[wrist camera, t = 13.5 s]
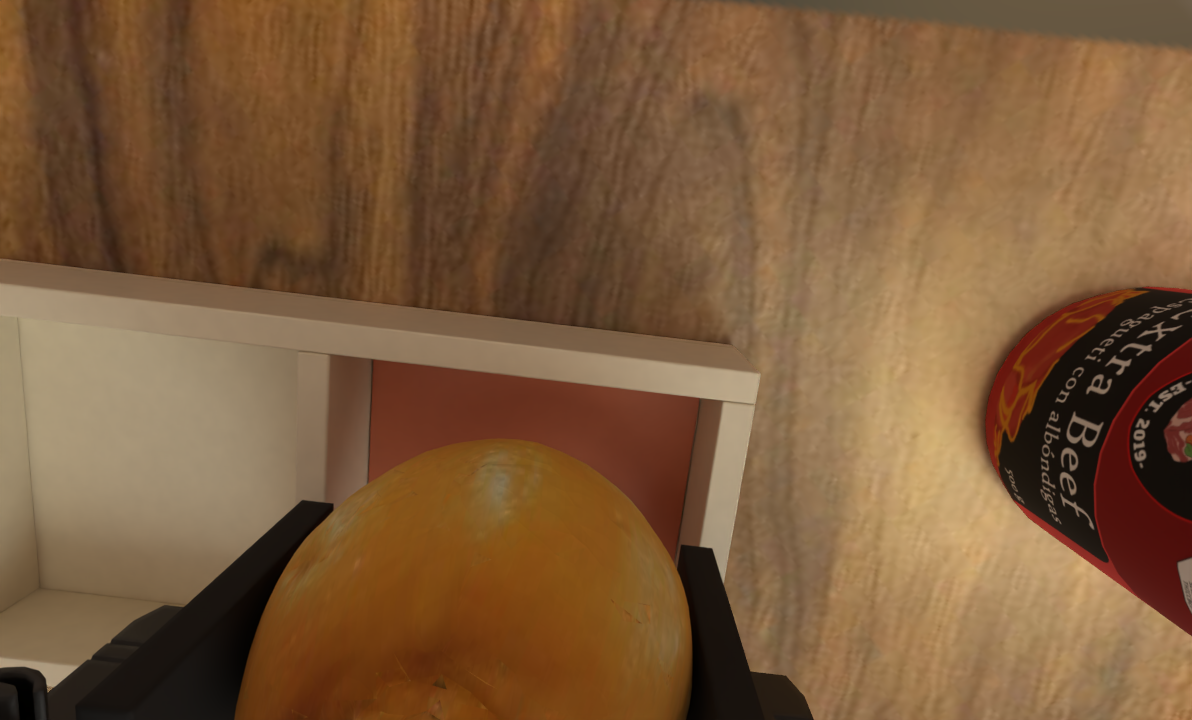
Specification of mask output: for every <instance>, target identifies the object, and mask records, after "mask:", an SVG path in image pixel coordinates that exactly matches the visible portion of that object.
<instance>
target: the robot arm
mask: <svg viewBox="0 0 1192 720" xmlns="http://www.w3.org/2000/svg"><path fill="white" fill-rule="evenodd" d="M333 511H334V504H333V503H325V502H316V501H308V500H302V501H300V502H299V503H298V504H297V505H296V506H295V507H294V508H293V509H292V510H290V511H289V512H288V513H287V514H286V515H285V516H284V517H283V518H282V519H281V520H279V521H278V522H277V523H276V524H275V525H274V526H273V527H272V528H271V529H269V530H268V531H267V532H266V533H265V534H264V535H263V536H262V537H261V538H260V539H258V540H257V541H256V542H255V543H254V544H253V545H252V546H251V547H250V548H248V549H247V550H246V551H245V552H244V553H243V554H242V555H241V556H240V557H239V558H237V559H236V560H235V561H234V562H233V563H232V564H231V565H230V566H229V567H228V568H226V569H225V570H224V571H223V572H222V573H221V574H220V575H219V576H218V577H216V578H215V579H214V580H213V581H212V582H211V583H210V584H209V585H208V586H207V587H205V588H204V589H203V590H202V591H201V592H200V593H199V594H198V595H197V596H195V597H194V598H193V599H192V600H191V601H190V602H189V603H188V604H187V605H186V606H184V607H179V606H170V605H163V606H161V607H159V608H157V609H155V610H153V611H151V612H149V613H147V614H145V615H143V616H141V617H139V618H138V619H136V620H134V621H133V622H131V623H130V624H129V625H128V626H127V627H126V628H124V629H123V630H122V631H121V632H120V633H118V634H117V635H116V636H115V637H114V638H112V639H111V642H110V643H106V644H105V645H104V646H103V647H102V648H100V649H99V650H98V651H97V652H96V653H95V654H93V655H92V658H91V660H89V659H87V660H86V661H85V662H84V663H83V664H81V665H80V666H79V667H78V668H77V669H75V670H74V671H73V672H72V673H71V674H69V675H68V676H67V677H66V678H65V679H63V680H62V681H61V682H60V683H59V684H58V685H56V686H55V687H54V688H53V689H52V690H50V691H49V692H48V693H47V684H46V678H45V677H44V676H43V674H42V673H41V672H40V671H39V670H36V669H32V668H28V667H3V668H0V720H234V718H235V711H236V705H237V701H238V696H239V692H240V688H241V683H242V679H243V675H244V670H245V666H246V663H247V659H248V655H249V651H250V648H251V645H252V642H253V639H254V636H255V633H256V630H257V627H258V624H259V622H260V619H261V616H262V614H263V611H264V609H265V607H266V604H267V602H268V600H269V598H270V596H271V594H272V592H273V590H274V588H275V586H276V584H277V582H278V580H279V578H280V576H281V575H282V573H283V571H284V569H285V568H286V566H287V564H288V563H289V561H290V560H291V558H292V557H293V555H294V553H295V552H296V551H297V549H298V548H299V547H300V545H301V544H302V543H303V541H304V540H305V539H306V538H307V537H308V536H309V534H310V533H311V532H312V531H313V530H314V529H315V528H316V527H318V526H319V525H320V524H321V523H322V522H323V521H324V520H325V519H326V518H327V517H328V516H329V515H330V514H331V513H332V512H333ZM677 571H678V574H679V576H680V579H681V581H682V584H683V587H684V591H685V595H686V599H687V603H688V607H689V615H690V624H691V632H692V652H693V676H692V692H691V699H690V706H689V710H688V714H687V718H686V720H814V719H813V717H812V714H811V712H810V709H809V707H808V704H807V702H806V699H805V697H804V696H803V694H802V693H801V692H800V691H799V690H798V689H797V688H796V687H795V685H794V684H793V683H792V682H791V681H790V680H789V679H788V678H787V676H783V675H775V674H766V673H758V672H750V669H749V666H748V663H747V660H746V656H745V653H744V650H743V647H742V643H741V640H740V637H739V633H738V630H737V627H736V624H735V620H734V617H733V614H732V611H731V607H730V604H729V601H728V598H727V594H726V591H725V588H724V585H723V581H722V578H721V575H720V572H719V568H718V565H717V562H716V558H715V555H714V552H713V549H712V548H707V547H699V546H690V545H682V544H681V547H680V553H679V559H678V566H677Z"/></svg>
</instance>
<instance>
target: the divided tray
mask: <svg viewBox="0 0 1192 720" xmlns="http://www.w3.org/2000/svg"><path fill="white" fill-rule="evenodd" d="M760 376H761V374H760V372H759V371H758V370H757V369H756V368H755V367H754V366H753V365H752V364H751V363H750V362H749V361H748V360H747V359H746V358H745V357H744V356H743V355H742V354H741V353H740V352H739V351H738V350H737V349H736V348H735V347H734V346H733V345H728V344H720V343H711V342H703V341H694V340H686V339H678V338H669V337H661V336H652V335H644V334H635V333H627V332H618V331H610V330H601V329H593V328H585V327H576V326H568V325H559V324H551V323H542V322H534V321H525V320H517V319H508V318H500V317H492V316H483V315H475V314H466V313H458V312H449V311H441V310H432V309H424V308H415V307H407V306H399V305H390V304H382V303H373V302H365V301H356V300H348V299H339V298H331V297H323V296H314V295H306V294H297V293H289V292H280V291H272V290H263V289H255V288H246V287H238V286H230V285H221V284H213V283H204V282H196V281H187V280H179V279H170V278H162V277H153V276H145V275H137V274H128V273H120V272H111V271H103V270H94V269H86V268H77V267H69V266H60V265H52V264H44V263H35V262H27V261H18V260H10V259H0V668H3V667H28V668H32V669H36V670H39V671H40V672H41V673H42V674H43V676H44V677H45V678H46V684H47V686H51V687H55V686H56V685H58V684H59V683H60V682H61V681H62V680H63V679H65V678H66V677H67V676H68V675H69V674H71V673H72V672H73V671H74V670H75V669H77V668H78V667H79V666H80V665H81V664H83V663H84V662H85V661H86V660H87V659H89V660H91V658H92V655H93V654H95V653H96V652H97V651H98V650H99V649H100V648H102V647H103V646H104V645H105V644H106V643H110V642H111V639H112V638H114V637H115V636H116V635H117V634H118V633H120V632H121V631H122V630H123V629H124V628H126V627H127V626H128V625H129V624H130V623H131V622H133V621H134V620H136V619H138V618H139V617H141V616H143V615H145V614H147V613H149V612H151V611H153V610H155V609H157V608H159V607H161V606H163V605H170V606H179V607H184V606H186V605H187V604H188V603H189V602H190V601H191V600H192V599H193V598H194V597H195V596H197V595H198V594H199V593H200V592H201V591H202V590H203V589H204V588H205V587H207V586H208V585H209V584H210V583H211V582H212V581H213V580H214V579H215V578H216V577H218V576H219V575H220V574H221V573H222V572H223V571H224V570H225V569H226V568H228V567H229V566H230V565H231V564H232V563H233V562H234V561H235V560H236V559H237V558H239V557H240V556H241V555H242V554H243V553H244V552H245V551H246V550H247V549H248V548H250V547H251V546H252V545H253V544H254V543H255V542H256V541H257V540H258V539H260V538H261V537H262V536H263V535H264V534H265V533H266V532H267V531H268V530H269V529H271V528H272V527H273V526H274V525H275V524H276V523H277V522H278V521H279V520H281V519H282V518H283V517H284V516H285V515H286V514H287V513H288V512H289V511H290V510H292V509H293V508H294V507H295V506H296V505H297V504H298V503H299V502H300V501H302V500H308V501H316V502H325V503H333V504H334V510H335V509H336V508H337V507H338V506H340V505H341V504H342V503H343V502H344V501H345V500H346V499H347V498H348V497H350V496H351V495H352V494H354V493H355V492H356V491H358V490H359V489H361V488H362V487H364V486H365V485H367V484H368V483H370V482H371V481H373V480H375V479H376V478H378V477H379V476H381V475H382V474H384V473H386V472H387V471H389V470H391V469H392V468H394V467H396V466H397V465H399V464H401V463H403V462H405V461H407V460H409V459H411V458H413V457H416V456H418V455H420V454H422V453H424V452H426V451H430V450H433V449H437V448H440V447H444V446H447V445H451V444H456V443H462V442H468V441H476V440H484V439H498V438H500V439H520V440H526V441H532V442H537V443H540V444H543V445H545V446H548V447H551V448H553V449H556V450H558V451H561V452H563V453H565V454H567V455H569V456H571V457H573V458H575V459H577V460H579V461H581V462H583V463H585V464H587V465H588V466H590V467H591V468H593V469H594V470H596V471H597V472H598V473H600V474H601V475H602V476H604V477H605V478H606V479H607V480H609V481H610V482H611V483H613V484H614V485H615V486H616V487H617V488H619V489H620V490H621V491H622V492H623V493H624V494H625V495H626V496H627V497H628V498H629V499H630V500H631V501H632V502H633V503H634V505H635V506H636V507H637V508H638V509H639V511H640V512H641V513H642V514H643V516H644V517H645V519H646V520H647V522H648V523H649V524H650V526H651V527H652V529H653V530H654V532H655V533H656V535H657V536H658V538H659V539H660V540H661V542H662V544H663V545H664V547H665V548H666V550H667V551H668V553H669V555H670V557H671V559H672V561H673V563H674V565H675V567H676V569H677V566H678V559H679V553H680V547H681V544H682V545H690V546H699V547H707V548H712V549H713V552H714V555H715V558H716V562H717V565H718V568H719V572H720V575H721V578H722V581H723V584H724V579H725V573H726V567H727V562H728V556H729V551H730V545H731V539H732V534H733V528H734V522H735V517H736V511H737V506H738V500H739V494H740V489H741V483H742V477H743V472H744V466H745V461H746V455H747V449H748V444H749V438H750V432H751V427H752V421H753V415H754V410H755V405H754V404H755V403H756V398H757V393H758V387H759V382H760Z"/></svg>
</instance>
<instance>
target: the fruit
mask: <svg viewBox="0 0 1192 720" xmlns="http://www.w3.org/2000/svg"><path fill="white" fill-rule="evenodd" d="M692 676H693V652H692V632H691V624H690V615H689V607H688V603H687V599H686V595H685V591H684V587H683V584H682V581H681V579H680V576H679V574H678V571H677V569H676V567H675V565H674V563H673V561H672V559H671V557H670V555H669V553H668V551H667V550H666V548H665V547H664V545H663V544H662V542H661V540H660V539H659V538H658V536H657V535H656V533H655V532H654V530H653V529H652V527H651V526H650V524H649V523H648V522H647V520H646V519H645V517H644V516H643V514H642V513H641V512H640V511H639V509H638V508H637V507H636V506H635V505H634V503H633V502H632V501H631V500H630V499H629V498H628V497H627V496H626V495H625V494H624V493H623V492H622V491H621V490H620V489H619V488H617V487H616V486H615V485H614V484H613V483H611V482H610V481H609V480H607V479H606V478H605V477H604V476H602V475H601V474H600V473H598V472H597V471H596V470H594V469H593V468H591V467H590V466H588V465H587V464H585V463H583V462H581V461H579V460H577V459H575V458H573V457H571V456H569V455H567V454H565V453H563V452H561V451H558V450H556V449H553V448H551V447H548V446H545V445H543V444H540V443H537V442H532V441H526V440H520V439H500V438H498V439H484V440H476V441H468V442H462V443H456V444H451V445H447V446H444V447H440V448H437V449H433V450H430V451H426V452H424V453H422V454H420V455H418V456H416V457H413V458H411V459H409V460H407V461H405V462H403V463H401V464H399V465H397V466H396V467H394V468H392V469H391V470H389V471H387V472H386V473H384V474H382V475H381V476H379V477H378V478H376V479H375V480H373V481H371V482H370V483H368V484H367V485H365V486H364V487H362V488H361V489H359V490H358V491H356V492H355V493H354V494H352V495H351V496H350V497H348V498H347V499H346V500H345V501H344V502H343V503H342V504H341V505H340V506H338V507H337V508H336V509H335V510H334V511H333V512H332V513H331V514H330V515H329V516H328V517H327V518H326V519H325V520H324V521H323V522H322V523H321V524H320V525H319V526H318V527H316V528H315V529H314V530H313V531H312V532H311V533H310V534H309V536H308V537H307V538H306V539H305V540H304V541H303V543H302V544H301V545H300V547H299V548H298V549H297V551H296V552H295V553H294V555H293V557H292V558H291V560H290V561H289V563H288V564H287V566H286V568H285V569H284V571H283V573H282V575H281V576H280V578H279V580H278V582H277V584H276V586H275V588H274V590H273V592H272V594H271V596H270V598H269V600H268V602H267V604H266V607H265V609H264V611H263V614H262V616H261V619H260V622H259V624H258V627H257V630H256V633H255V636H254V639H253V642H252V645H251V648H250V651H249V655H248V659H247V663H246V666H245V670H244V675H243V679H242V683H241V688H240V692H239V696H238V701H237V705H236V711H235V718H234V720H686V718H687V714H688V710H689V706H690V699H691V692H692Z"/></svg>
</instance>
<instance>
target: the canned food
mask: <svg viewBox="0 0 1192 720" xmlns="http://www.w3.org/2000/svg"><path fill="white" fill-rule="evenodd" d="M985 424H986V440H987V446H988V450H989V453H990V457H991V460H992V464H993V466H994V468H995V470H996V472H997V474H998V475H999V477H1000V479H1001V481H1002V483H1003V485H1004V486H1005V488H1006V489H1007V491H1008V493H1009V494H1010V496H1011V498H1012V499H1013V501H1014V502H1015V503H1016V504H1017V505H1018V506H1019V507H1020V509H1021V510H1022V511H1023V512H1024V513H1025V514H1026V516H1027V517H1028V518H1029V519H1031V520H1032V521H1033V522H1035V523H1036V524H1037V525H1039V526H1040V527H1041V528H1043V529H1044V530H1045V531H1047V532H1048V533H1049V534H1051V535H1052V536H1053V537H1055V538H1056V539H1058V540H1059V541H1060V542H1062V543H1063V544H1065V545H1066V546H1067V547H1069V548H1070V549H1072V550H1073V551H1074V552H1076V553H1077V554H1078V555H1080V556H1081V557H1083V558H1084V559H1085V560H1087V561H1088V562H1090V563H1091V564H1092V565H1094V566H1095V567H1097V568H1098V569H1099V570H1101V571H1102V572H1103V573H1105V574H1106V575H1108V576H1109V577H1110V578H1112V579H1113V580H1115V581H1116V582H1117V583H1119V584H1120V585H1122V586H1123V587H1124V588H1126V589H1127V590H1128V591H1130V592H1131V593H1133V594H1134V595H1135V596H1137V597H1138V598H1140V599H1141V600H1142V601H1144V602H1145V603H1146V604H1148V605H1149V606H1151V607H1152V608H1153V609H1155V610H1156V611H1158V612H1159V613H1160V614H1162V615H1163V616H1165V617H1166V618H1167V619H1169V620H1170V621H1171V622H1173V623H1174V624H1176V625H1177V626H1178V627H1180V628H1181V629H1183V630H1184V631H1185V632H1187V633H1188V634H1190V635H1191V636H1192V290H1188V289H1179V288H1164V287H1141V288H1133V289H1126V290H1118V291H1114V292H1110V293H1106V294H1102V295H1097V296H1094V297H1091V298H1088V299H1085V300H1082V301H1079V302H1076V303H1073V304H1071V305H1069V306H1067V307H1065V308H1063V309H1061V310H1059V311H1057V312H1056V313H1054V314H1052V315H1050V316H1048V317H1047V318H1046V319H1044V320H1043V321H1042V322H1041V323H1039V324H1038V325H1037V326H1036V327H1034V328H1033V329H1032V330H1030V331H1029V332H1028V333H1027V334H1026V335H1025V336H1024V337H1023V338H1022V340H1021V341H1020V342H1019V343H1018V344H1017V345H1016V346H1015V348H1014V349H1013V350H1012V351H1011V352H1010V354H1009V355H1008V357H1007V359H1006V360H1005V362H1004V364H1003V365H1002V367H1001V369H1000V370H999V372H998V374H997V376H996V379H995V381H994V384H993V387H992V390H991V393H990V395H989V399H988V406H987V413H986V419H985Z"/></svg>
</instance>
